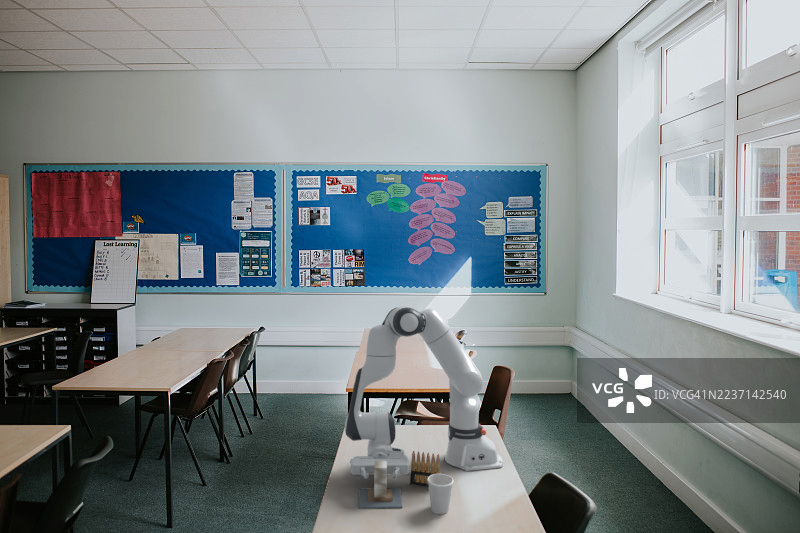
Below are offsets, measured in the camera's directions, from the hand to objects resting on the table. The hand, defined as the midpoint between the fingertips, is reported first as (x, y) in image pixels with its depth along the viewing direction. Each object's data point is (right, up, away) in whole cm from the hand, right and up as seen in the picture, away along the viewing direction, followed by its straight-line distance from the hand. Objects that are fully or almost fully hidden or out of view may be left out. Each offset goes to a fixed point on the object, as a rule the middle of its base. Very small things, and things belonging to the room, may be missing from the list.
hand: (380, 476), depth 171 cm
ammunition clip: (+15, -8, +11) cm, 21 cm away
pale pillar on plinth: (0, -7, +1) cm, 8 cm away
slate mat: (0, -8, +1) cm, 8 cm away
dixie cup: (+19, -9, -5) cm, 22 cm away
